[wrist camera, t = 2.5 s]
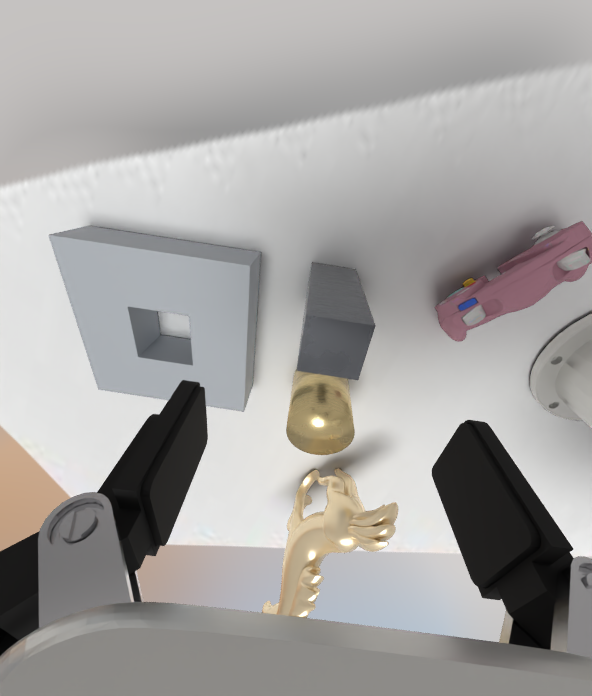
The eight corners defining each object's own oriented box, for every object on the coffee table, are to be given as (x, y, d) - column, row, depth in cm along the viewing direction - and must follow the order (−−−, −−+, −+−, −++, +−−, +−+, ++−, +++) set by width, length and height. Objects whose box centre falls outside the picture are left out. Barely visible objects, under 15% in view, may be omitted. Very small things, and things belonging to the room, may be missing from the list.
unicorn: (368, 425, 32) (406, 635, 17) (392, 442, 33) (446, 651, 19) (267, 495, 41) (236, 671, 27) (288, 506, 42) (270, 680, 28)
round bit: (353, 362, 28) (362, 413, 22) (341, 403, 31) (345, 459, 25) (297, 353, 28) (290, 403, 22) (290, 396, 31) (283, 449, 25)
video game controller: (542, 226, 22) (600, 195, 15) (577, 275, 21) (652, 265, 15) (421, 301, 25) (427, 302, 19) (450, 343, 25) (465, 358, 19)
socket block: (260, 252, 23) (250, 265, 19) (252, 384, 30) (243, 411, 27) (89, 225, 23) (48, 234, 19) (123, 365, 30) (98, 389, 27)
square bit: (355, 269, 23) (375, 325, 14) (345, 309, 25) (357, 380, 16) (311, 262, 23) (305, 314, 14) (305, 303, 25) (296, 370, 16)
